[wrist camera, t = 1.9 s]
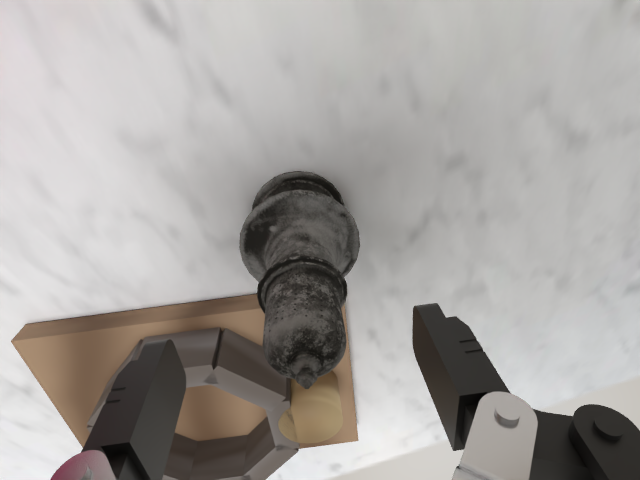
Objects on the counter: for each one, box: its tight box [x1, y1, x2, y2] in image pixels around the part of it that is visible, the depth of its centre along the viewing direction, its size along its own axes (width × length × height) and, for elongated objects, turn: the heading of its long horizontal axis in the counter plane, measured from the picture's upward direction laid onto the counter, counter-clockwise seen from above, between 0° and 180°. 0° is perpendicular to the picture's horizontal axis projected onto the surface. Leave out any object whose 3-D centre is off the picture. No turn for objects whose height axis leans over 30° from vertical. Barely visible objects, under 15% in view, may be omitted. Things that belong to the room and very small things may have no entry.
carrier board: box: [11, 294, 358, 480], centre depth 26 cm, size 20×14×4 cm
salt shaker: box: [239, 171, 360, 389], centre depth 17 cm, size 6×6×12 cm
